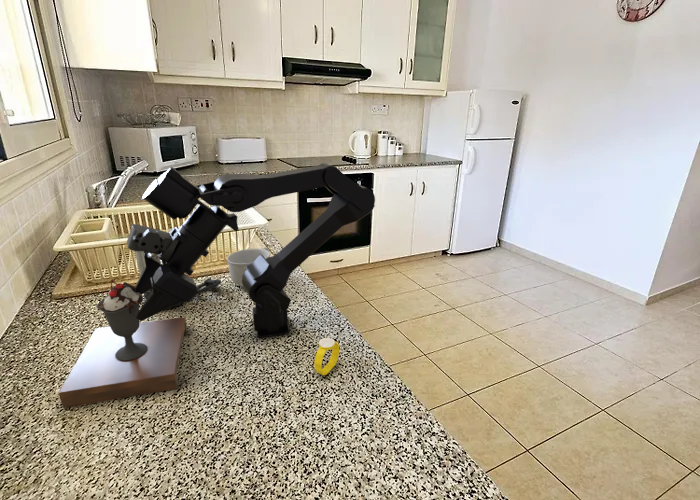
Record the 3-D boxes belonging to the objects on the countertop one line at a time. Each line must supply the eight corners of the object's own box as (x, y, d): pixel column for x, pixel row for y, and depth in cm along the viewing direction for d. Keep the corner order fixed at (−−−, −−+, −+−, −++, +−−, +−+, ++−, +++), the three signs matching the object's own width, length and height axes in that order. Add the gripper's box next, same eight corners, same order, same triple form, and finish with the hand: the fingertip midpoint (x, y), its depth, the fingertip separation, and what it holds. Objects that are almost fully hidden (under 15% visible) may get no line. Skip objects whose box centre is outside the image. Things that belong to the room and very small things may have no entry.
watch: (330, 358, 70) (330, 331, 68) (342, 363, 68) (343, 335, 66) (311, 376, 65) (310, 347, 63) (324, 382, 64) (324, 353, 61)
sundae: (120, 369, 61) (100, 287, 55) (102, 354, 65) (82, 275, 59) (160, 350, 66) (145, 273, 60) (141, 336, 70) (125, 262, 64)
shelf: (187, 329, 77) (185, 316, 76) (176, 388, 61) (174, 373, 60) (99, 341, 73) (95, 328, 72) (63, 408, 57) (58, 392, 56)
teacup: (250, 296, 91) (247, 266, 88) (220, 285, 96) (217, 256, 94) (288, 276, 102) (287, 249, 99) (259, 267, 108) (257, 241, 105)
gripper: (148, 195, 67) (89, 263, 66) (161, 222, 52) (86, 310, 51) (199, 230, 74) (147, 292, 73) (224, 262, 59) (159, 341, 58)
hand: (136, 306), depth 63 cm, fingers open, 9 cm apart
